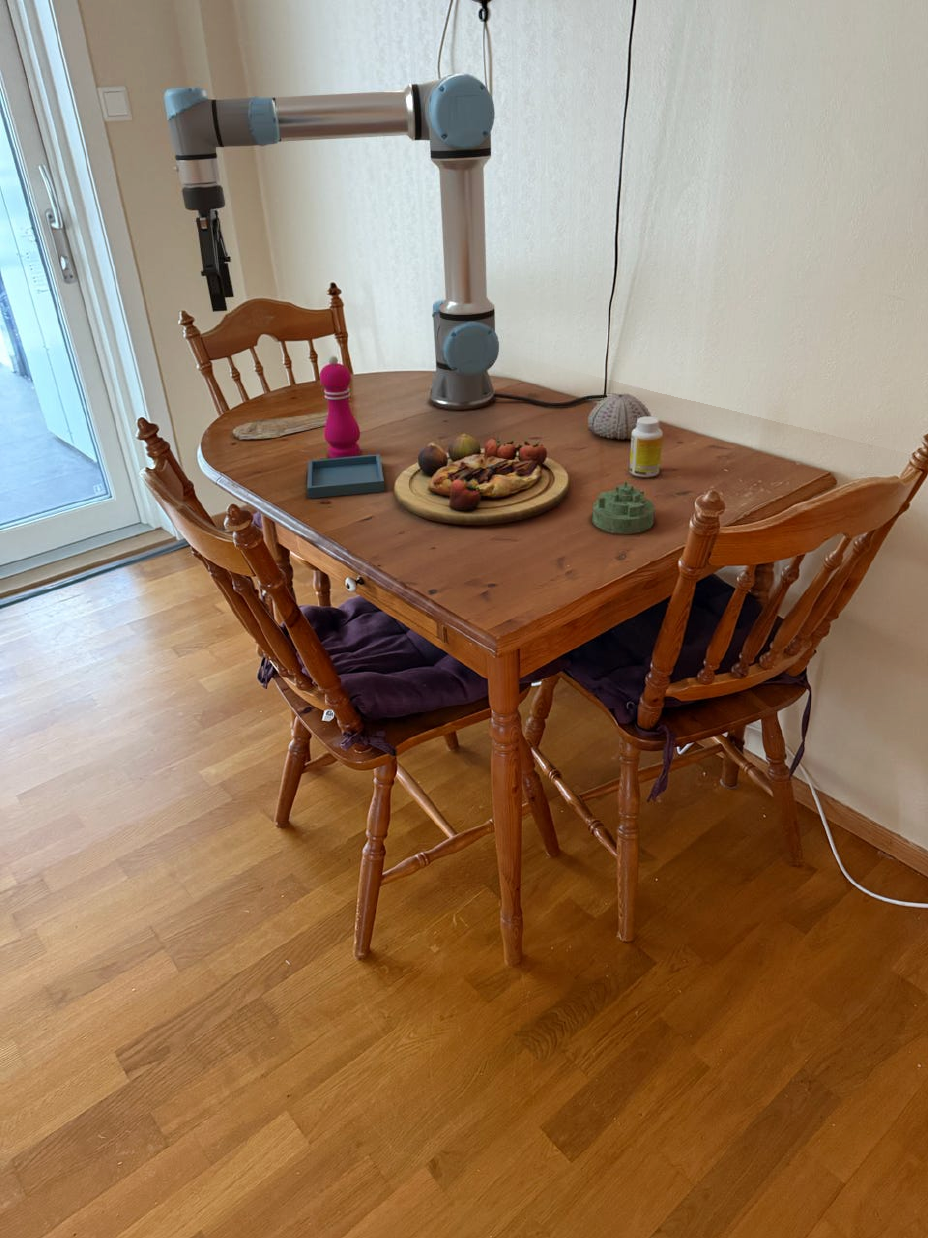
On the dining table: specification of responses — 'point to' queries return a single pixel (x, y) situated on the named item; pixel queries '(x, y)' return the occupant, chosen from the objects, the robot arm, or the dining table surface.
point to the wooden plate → (481, 482)
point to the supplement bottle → (646, 447)
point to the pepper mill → (339, 411)
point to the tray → (345, 476)
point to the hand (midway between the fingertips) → (223, 303)
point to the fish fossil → (279, 426)
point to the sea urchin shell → (617, 416)
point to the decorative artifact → (623, 511)
